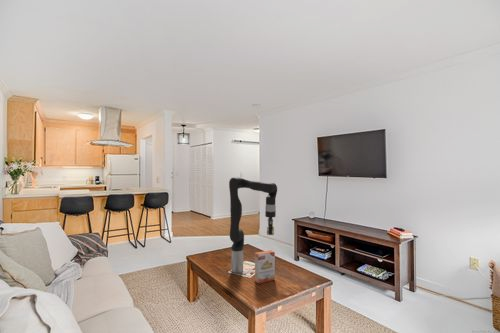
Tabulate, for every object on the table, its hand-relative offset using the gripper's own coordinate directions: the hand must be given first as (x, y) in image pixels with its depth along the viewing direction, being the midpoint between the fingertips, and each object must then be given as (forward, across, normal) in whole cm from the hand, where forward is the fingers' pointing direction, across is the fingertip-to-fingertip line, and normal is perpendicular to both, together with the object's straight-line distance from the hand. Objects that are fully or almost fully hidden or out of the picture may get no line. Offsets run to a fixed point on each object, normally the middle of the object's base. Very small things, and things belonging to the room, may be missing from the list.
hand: (270, 233), depth 193 cm
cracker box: (+35, +1, -3) cm, 35 cm away
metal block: (+1, 0, 0) cm, 1 cm away
